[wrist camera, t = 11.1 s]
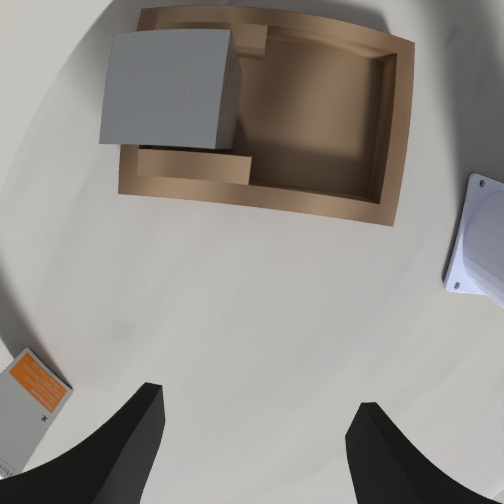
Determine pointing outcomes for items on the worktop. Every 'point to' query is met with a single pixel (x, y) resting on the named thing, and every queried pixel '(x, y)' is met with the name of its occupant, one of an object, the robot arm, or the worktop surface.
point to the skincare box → (27, 409)
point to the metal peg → (172, 89)
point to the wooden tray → (293, 118)
